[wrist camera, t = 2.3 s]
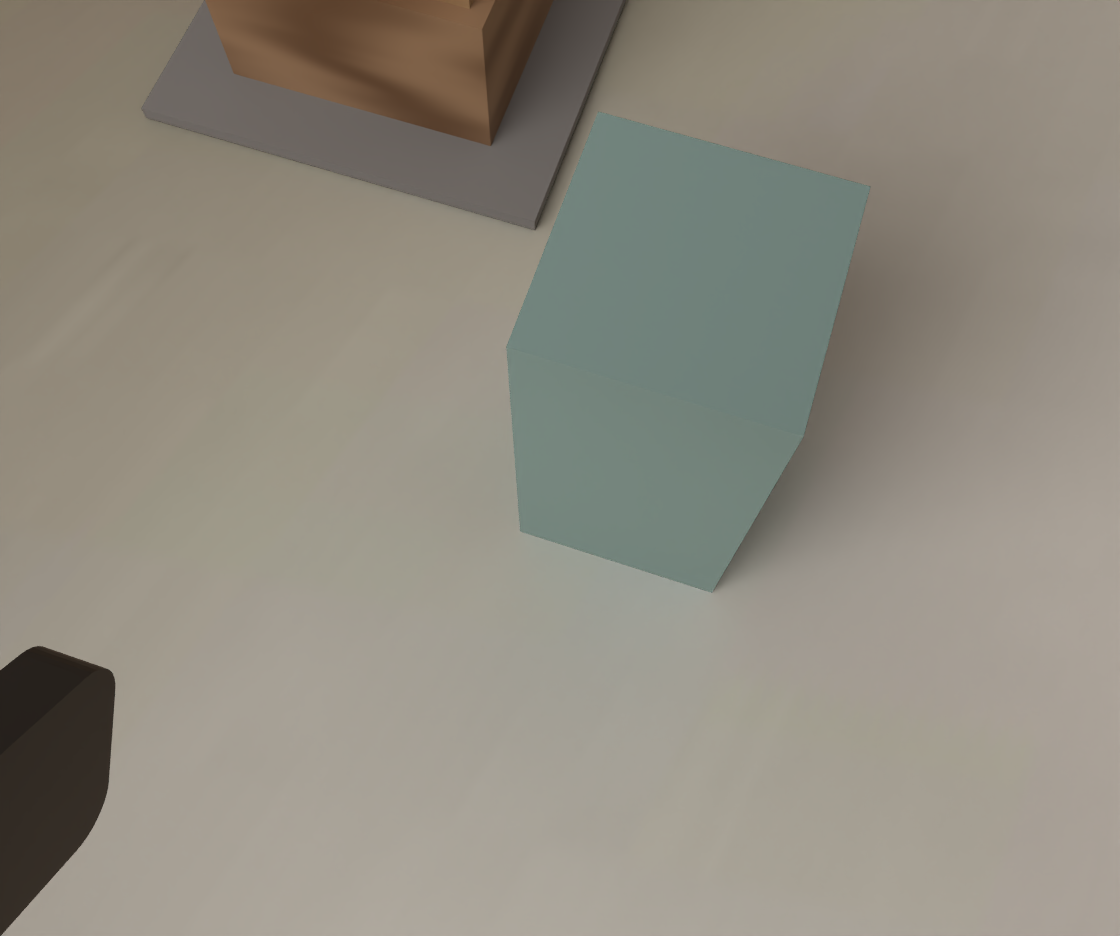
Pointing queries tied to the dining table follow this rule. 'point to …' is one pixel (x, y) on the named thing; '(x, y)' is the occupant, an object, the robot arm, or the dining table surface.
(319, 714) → the dining table surface
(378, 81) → the walnut block
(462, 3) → the oak block
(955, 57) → the dining table surface
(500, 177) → the felt mat
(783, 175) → the teal block
